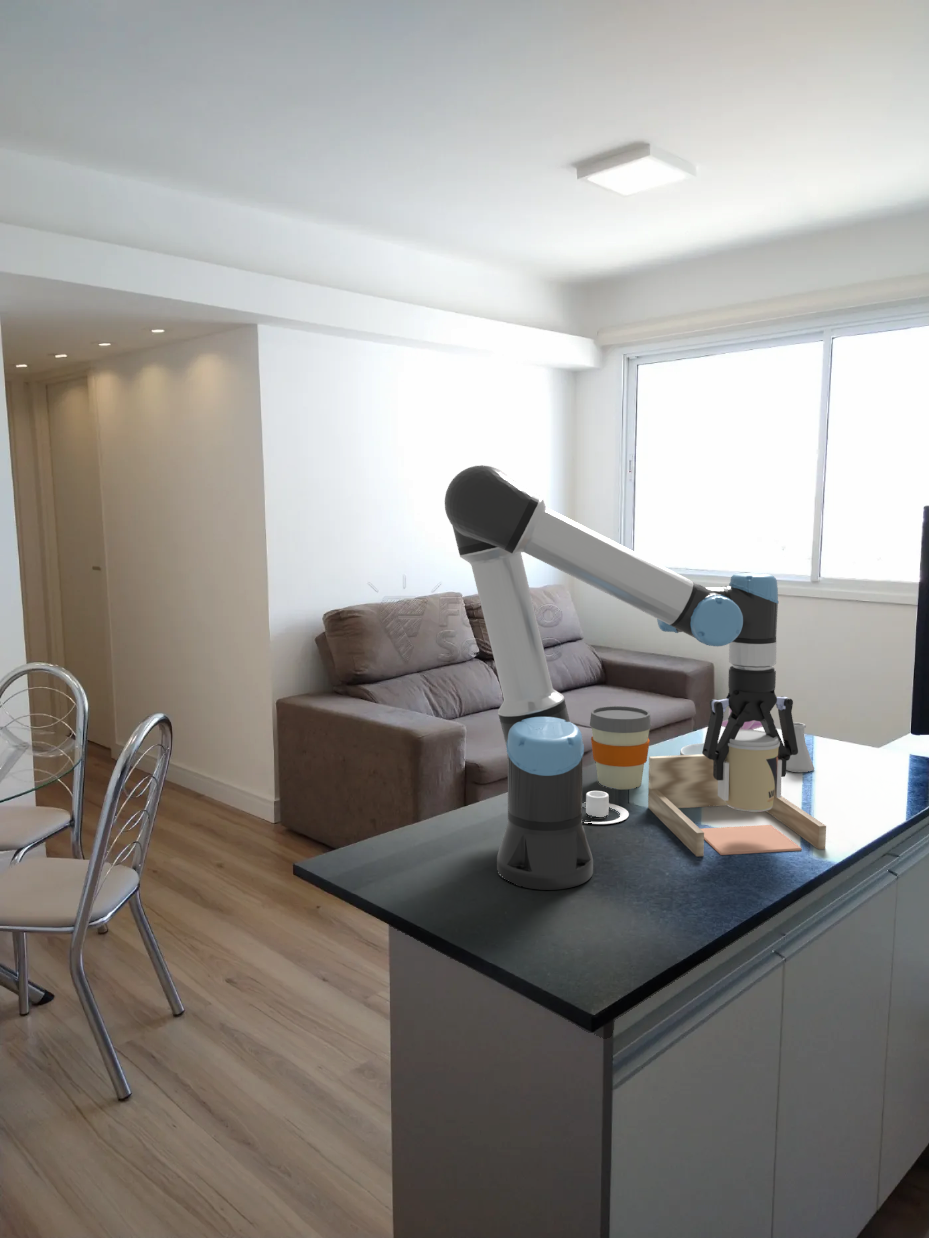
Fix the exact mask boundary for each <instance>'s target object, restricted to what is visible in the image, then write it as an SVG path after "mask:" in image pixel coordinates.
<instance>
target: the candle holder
mask: <svg viewBox="0 0 929 1238" xmlns="http://www.w3.org/2000/svg"><path fill="white" fill-rule="evenodd" d="M609 797H610V796H609V793H607V792H605V791H602V790H591V791H588V792H586V793H585V802H584V801H583V802H584V803H586V807H585V814H586V813H587V814H588V815H592V816H596V817H604V816H606V815H608V816H609V812H610V811H609V810H610V809H609V807H610V808H612V809H615V810H616V811H618V812H619V813H620V815H619V816H620V817H618V818H615V819H613V820H607V821H591V822H584V823H583V824H588V823H592V824H591V825H610V824H616V823H619V822H620V823H621V822H624V820H627V819H628V817H629V815H630V813H629V811H628V810H627V809H626V808H624V807H622V806H619V805H617V804H614V803H610V802H609V800H610V798H609ZM612 809H611V810H612ZM616 811H615V812H616ZM618 812H617V813H618ZM619 813H618V814H619ZM604 818H605V817H604Z"/></svg>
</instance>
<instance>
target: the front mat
mask: <svg viewBox="0 0 929 1238" xmlns="http://www.w3.org/2000/svg"><path fill="white" fill-rule="evenodd" d="M700 829H701V830H702V831H703V832H704V841H706V843H707V844H709V846H710V847H712V848H713V849H714V850H715V851H716V852H717V853H718V854H720V856H727V855H742V854H759V853H779V852H780V853H781V852H795V851H802V849H803V848H802V847H801V846H799V845H798V844H797V843H795V842H794V841H793V840H791V839H790V838H789V837H788V836H786V834H784V833H782V832H781V831H780V830H778V828H775V827H774V826H773V825H772V824H762V825H761V824H760V825H759V824H758V825H757V824H756V825H742V826H724V827H722V826H721V827H706V828H705V827H704V828H700Z"/></svg>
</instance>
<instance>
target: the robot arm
mask: <svg viewBox="0 0 929 1238" xmlns="http://www.w3.org/2000/svg"><path fill="white" fill-rule="evenodd" d="M444 510H445V513H446V514H445V515H446V517H447V519H448V521H449V523H450V524H451V526H452V530H453V534H454V538H455V541H456V546H457V549H458V553H459V557H460V558H461V559H463V560H464V561H466V562H467V563H469V565H470V566H471V569H472V573H473V578H474V581H475V586H476V590H477V594H478V598H479V603H480V606H481V610H482V615H483V620H484V623H485V626H486V627H485V628H486V631H487V635H488V639H489V643H490V647H491V653H492V656H493V659H494V664H495V669H496V672H497V678H498V680H499V685H500V689H501V693H502V697H503V701H502V703H501V704H500V706H499V708H498V710H497V713H498V714H497V715H498V718H499V722H500V726H501V731H502V735H503V739H504V743H505V747H506V757H507V758H506V759H507V760H506V761H507V763H506V764H507V824H506V827H505V830H504V834H503V836H502V840H501V843H500V845H499V848H498V851H497V856H496V871H497V870H498V872H499V874H501V876H503V878H505V879H506V880H509V881H510V882H512V883H514V884H513V885H515V884H517V885H516V886H518V887H521V886H523V887H522V888H526V889H532V890H542V891H543V890H545V891H546V890H547V891H552V890H554V891H555V890H556V891H557V890H564V889H565V890H566V889H569V888H574V887H578V886H580V885H582V884H584V883H586V882H588V881H589V880H590V879H591V877H592V876H593V874H594V859H593V855H592V851H591V848H590V845H589V842H588V839H587V835H586V832H585V828H584V826H583V823H582V820H583V808H582V802H583V756H584V754H585V745H584V742H583V734H582V731H581V730H580V728H579V727H578V726H577V725H576V724H575V723H573V722H571V721H570V716H569V713H568V709H567V704H566V699H565V696H564V695H563V694H562V693H561V692H559V691H557V690H556V689H554V687H553V684H552V683H553V682H552V679H551V674H550V670H549V667H548V662H547V657H546V653H545V649H544V645H543V641H542V636H541V633H540V628H539V624H538V620H537V616H536V615H537V614H536V612H535V607H534V603H533V597H532V594H531V590H530V585H529V582H528V577H527V574H526V568H525V565H524V560H523V555H522V553H525V554H527V555H529V556H532V557H533V558H534V559H537V560H539V561H540V562H543V563H545V564H546V565H549V566H551V567H553V568H555V569H557V570H559V571H561V572H563V573H565V574H566V575H569V576H571V577H573V578H575V579H576V580H579V581H581V582H583V583H585V584H586V585H589V586H590V587H593V588H595V589H597V590H599V591H601V592H603V593H604V594H606V595H609V596H612V597H613V598H615V599H616V600H618V601H621V602H623V603H625V604H627V605H629V606H631V607H632V608H635V609H637V610H639V611H641V612H643V613H645V614H647V615H650V616H651V617H653V618H655V619H656V621H657V625H658V628H659V630H661V631H662V632H667V633H675V634H678V633H684V634H686V635H688V636H690V637H692V638H695V639H696V640H697V641H698V642H699V643H701V644H704V645H706V646H710V647H723V646H724V647H725V646H727V645H729V646H728V647H729V648H728V651H729V652H728V662H729V663H730V666H729V668H728V686H727V687H728V693H727V696H726V697H725V698H723V699H718V700H717V699H715V698H712V699H710V700H709V706H710V716H709V719H708V724H707V728H706V732H705V733H706V734H705V739H704V742H703V743H704V747H703V751H702V753H703V755H704V756H706V757H707V758H709V759H712V760H713V776H714V778H715V779H716V780H718V796H719V797H720V798H721V799H723V800H724V801H728V798H729V763H728V762H727V761H725V759H726V757H727V755H728V752H729V746H728V743H730V739H734V740H735V738H736V736H737V734H738V732H739V729H740V728H741V727H742V726H743V725H744V722H750V721H753V720H755V721H760V722H761V724H762V726H763V727H762V728H763V731H764V732H765V733H766V734H767V735H769V736H770V737H772V738H774V737H778V740H779V741H780V746H779V749H778V761H777V771H776V781H775V791H774V796H775V797H776V798H780V797H781V796H782V778H785V777H786V775H787V770H786V761H787V760H789V759H790V756H791V755H796V754H797V753H798V747H797V741H796V736H795V730H794V724H793V723H794V720H793V714H792V710H793V705H794V700H793V699H792V698H790V697H787V696H785V695H781V696H777V695H776V693H775V690H776V680H777V679H776V678H777V677H776V675H777V674H776V673H777V669H775V667H774V666H775V665H776V664H777V642H778V641H777V629H778V628H777V627H778V610H779V609H778V608H779V591H778V589H779V588H778V580H777V578H776V577H775V576H774V575H772V574H768V573H754V572H753V573H735V574H733V575H731V576H730V581H729V583H728V585H725V586H703V585H701V584H699V583H696V582H695V581H693V580H691V579H689V578H687V577H685V576H683V575H681V574H679V573H678V572H675V571H673V570H672V569H669V568H668V567H665V566H663V565H662V564H660V563H657V562H655V561H653V560H652V559H650V558H648V557H645V556H643V555H642V554H640V553H638V552H635V551H634V550H632V549H629V548H628V547H627V546H624V545H622V544H619V543H618V542H616V541H615V540H612V539H611V538H608V537H606V536H604V535H602V534H600V533H598V532H597V531H594V530H592V529H591V528H588V527H587V526H584V525H583V524H581V523H579V522H576V521H575V520H573V519H570V518H569V517H567V516H565V515H562V514H561V513H558V512H556V511H555V510H553V509H550V508H549V507H547V506H546V504H545V501H544V498H543V497H542V496H540V495H538V494H537V493H536V494H535V493H533V492H532V491H530V490H529V489H527V488H525V487H524V486H522V485H520V484H519V483H517V482H516V481H515V480H513V479H512V478H511V477H509V476H508V475H507V474H506V473H505V472H503V471H502V470H500V469H499V468H496V467H494V466H491V465H482V464H481V465H474V466H471V467H467V468H465V469H463V470H462V471H460V472H459V473H458V474H456V475H455V476H454V478H452V479H451V481H450V483H449V484H448V486H447V489H446V492H445V496H444ZM727 707H728V709H729V708H730V709H731V710H732V711H731V714H730V716H729V715H728V717H727V720H728V723H727V725H726V727H724V729H723V731H722V734H721V730H722V722H723V721H724V714H725V712H726V711H727ZM774 707H776V709H777V714H778V719H779V724H780V729H781V735H782V738H781V736H780V734H779V732H778V729H777V727H776V725H775V720H774V718H773V716H772V714H771V711H772V710H773V708H774ZM720 735H721V736H720ZM498 872H497V873H498ZM499 874H498V875H499ZM501 876H500V877H501ZM503 878H502V879H503ZM506 880H505V881H506ZM510 882H509V883H510ZM512 883H511V884H512Z"/></svg>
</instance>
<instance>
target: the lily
mask: <svg viewBox="0 0 929 1238" xmlns="http://www.w3.org/2000/svg"><path fill="white" fill-rule="evenodd" d="M731 711H732V710H731V709H730V708H729V707H728V717H729V716H730V714H731ZM727 723H728V719H725V720H724V719H723V722H722V726H721V728H722V727H723V728H725V727H726V725H727ZM759 728H760V729H761V728H763V726H762V724H761V722H760V721H755V720H753V721H750V722H744V725H743V726H742V727H741V728H740V729H739V730H757V729H759Z"/></svg>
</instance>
